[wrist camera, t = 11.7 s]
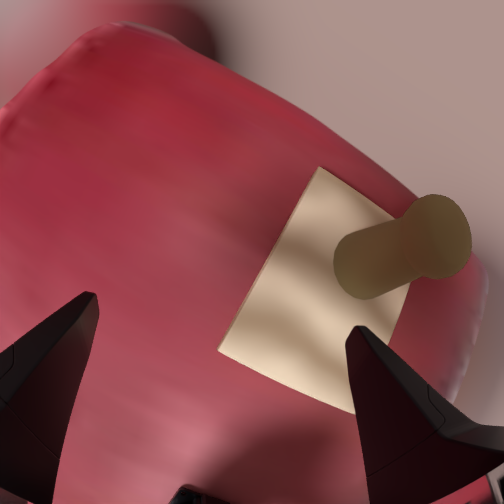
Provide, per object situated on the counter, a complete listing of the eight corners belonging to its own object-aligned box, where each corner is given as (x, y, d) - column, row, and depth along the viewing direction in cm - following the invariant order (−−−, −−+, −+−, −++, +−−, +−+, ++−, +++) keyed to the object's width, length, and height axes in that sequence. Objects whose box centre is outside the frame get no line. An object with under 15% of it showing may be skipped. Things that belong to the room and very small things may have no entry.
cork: (388, 236, 26) (475, 192, 15) (390, 301, 24) (487, 283, 14) (332, 227, 25) (413, 168, 14) (332, 298, 23) (426, 278, 13)
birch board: (346, 410, 23) (354, 414, 21) (216, 348, 22) (217, 350, 21) (413, 244, 28) (422, 240, 26) (313, 173, 27) (319, 166, 26)
